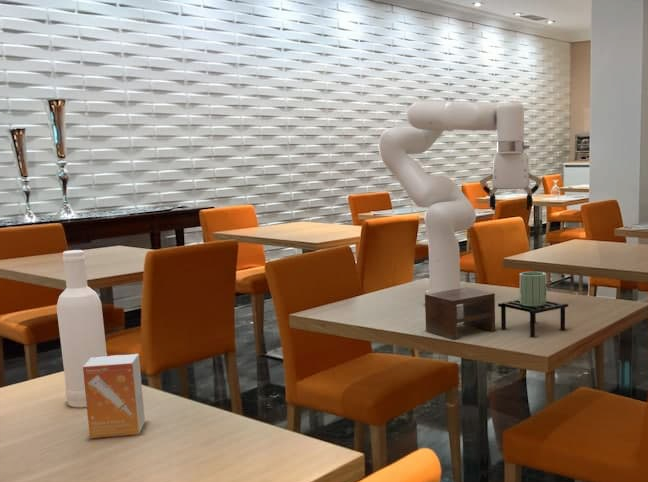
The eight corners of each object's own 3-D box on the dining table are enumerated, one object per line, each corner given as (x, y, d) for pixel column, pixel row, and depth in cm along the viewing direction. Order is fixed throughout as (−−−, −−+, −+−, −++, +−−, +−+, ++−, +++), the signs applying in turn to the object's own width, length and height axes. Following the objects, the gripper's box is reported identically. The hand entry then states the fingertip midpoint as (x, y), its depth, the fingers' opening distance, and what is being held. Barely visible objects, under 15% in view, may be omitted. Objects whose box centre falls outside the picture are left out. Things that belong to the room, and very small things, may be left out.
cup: (514, 303, 198) (514, 273, 197) (533, 300, 202) (533, 270, 201) (532, 307, 193) (532, 276, 191) (551, 303, 197) (551, 273, 195)
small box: (89, 439, 128) (81, 366, 126) (98, 426, 134) (90, 356, 132) (140, 434, 130) (132, 362, 128) (146, 422, 136) (139, 352, 134)
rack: (498, 329, 200) (497, 303, 199) (533, 321, 208) (533, 296, 206) (532, 338, 190) (532, 311, 188) (568, 329, 198) (568, 303, 196)
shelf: (425, 331, 199) (424, 294, 198) (466, 322, 208) (466, 287, 206) (453, 339, 190) (452, 300, 188) (495, 330, 199) (494, 293, 197)
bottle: (67, 410, 143) (49, 255, 138) (67, 399, 150) (49, 250, 145) (113, 403, 147) (97, 251, 142) (110, 392, 154) (95, 247, 149)
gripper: (541, 147, 211) (541, 208, 214) (480, 148, 213) (481, 209, 216) (541, 147, 204) (541, 210, 207) (478, 148, 206) (479, 211, 209)
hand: (510, 209), depth 211 cm, fingers open, 9 cm apart
